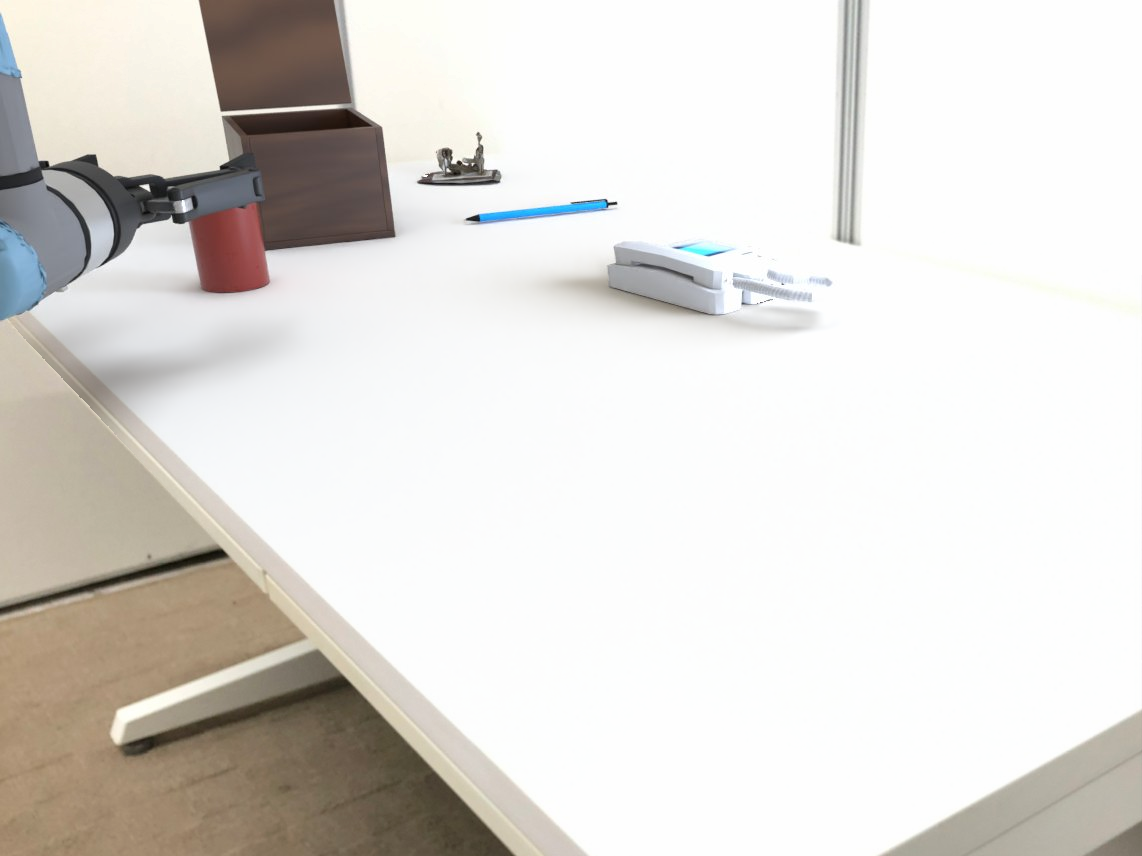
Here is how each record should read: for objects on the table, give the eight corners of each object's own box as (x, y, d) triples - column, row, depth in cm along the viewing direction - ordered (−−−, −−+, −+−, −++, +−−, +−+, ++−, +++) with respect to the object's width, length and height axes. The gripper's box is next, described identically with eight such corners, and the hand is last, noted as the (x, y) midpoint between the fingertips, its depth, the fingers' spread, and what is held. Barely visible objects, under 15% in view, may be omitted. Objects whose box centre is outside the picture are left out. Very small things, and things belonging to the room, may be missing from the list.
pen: (618, 207, 159) (618, 198, 158) (465, 224, 151) (465, 214, 150) (615, 206, 159) (615, 196, 159) (463, 222, 151) (462, 213, 151)
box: (395, 236, 146) (382, 126, 140) (259, 250, 140) (240, 136, 135) (365, 208, 159) (351, 107, 154) (239, 220, 153) (221, 115, 148)
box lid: (324, -56, 149) (323, -55, 150) (188, -54, 144) (188, -52, 144) (351, 102, 153) (350, 103, 154) (221, 111, 148) (220, 112, 148)
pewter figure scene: (394, 168, 176) (457, 128, 180) (419, 211, 180) (481, 170, 184) (430, 170, 167) (496, 127, 171) (456, 215, 171) (520, 172, 174)
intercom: (797, 288, 110) (601, 240, 125) (796, 338, 111) (603, 285, 127) (893, 260, 118) (699, 218, 133) (891, 306, 120) (700, 260, 135)
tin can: (188, 291, 126) (169, 196, 122) (221, 274, 131) (205, 183, 127) (250, 293, 125) (233, 198, 121) (281, 276, 130) (266, 184, 126)
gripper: (-94, 275, 96) (40, 214, 115) (246, 271, 96) (323, 211, 115) (-125, 170, 93) (18, 126, 112) (227, 167, 93) (310, 123, 112)
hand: (173, 169), depth 114 cm, fingers open, 13 cm apart
